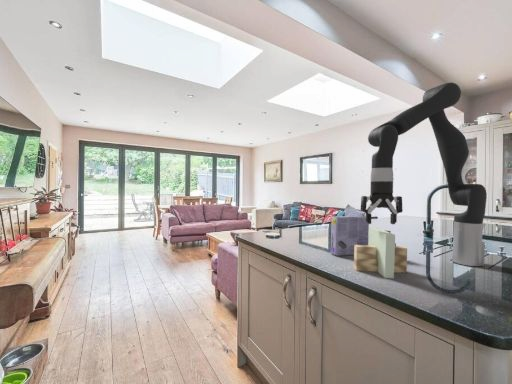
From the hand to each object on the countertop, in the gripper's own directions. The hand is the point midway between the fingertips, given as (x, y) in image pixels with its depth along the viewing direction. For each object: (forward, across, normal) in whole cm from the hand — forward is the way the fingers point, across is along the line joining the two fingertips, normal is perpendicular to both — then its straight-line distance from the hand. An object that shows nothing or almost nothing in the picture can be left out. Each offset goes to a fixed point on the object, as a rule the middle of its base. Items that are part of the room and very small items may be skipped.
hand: (380, 223), depth 94 cm
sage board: (+18, 0, 0) cm, 18 cm away
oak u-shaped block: (+18, 0, 0) cm, 18 cm away
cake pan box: (+18, +4, -23) cm, 29 cm away
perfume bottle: (+18, -10, -18) cm, 27 cm away
